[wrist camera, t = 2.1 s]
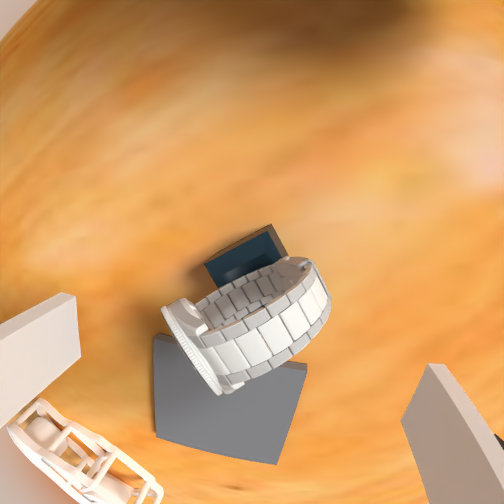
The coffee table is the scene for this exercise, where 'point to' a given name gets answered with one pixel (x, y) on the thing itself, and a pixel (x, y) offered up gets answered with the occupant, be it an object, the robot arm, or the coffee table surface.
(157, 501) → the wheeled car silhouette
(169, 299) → the coffee table surface
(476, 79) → the coffee table surface
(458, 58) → the coffee table surface
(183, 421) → the mat
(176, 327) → the watch
